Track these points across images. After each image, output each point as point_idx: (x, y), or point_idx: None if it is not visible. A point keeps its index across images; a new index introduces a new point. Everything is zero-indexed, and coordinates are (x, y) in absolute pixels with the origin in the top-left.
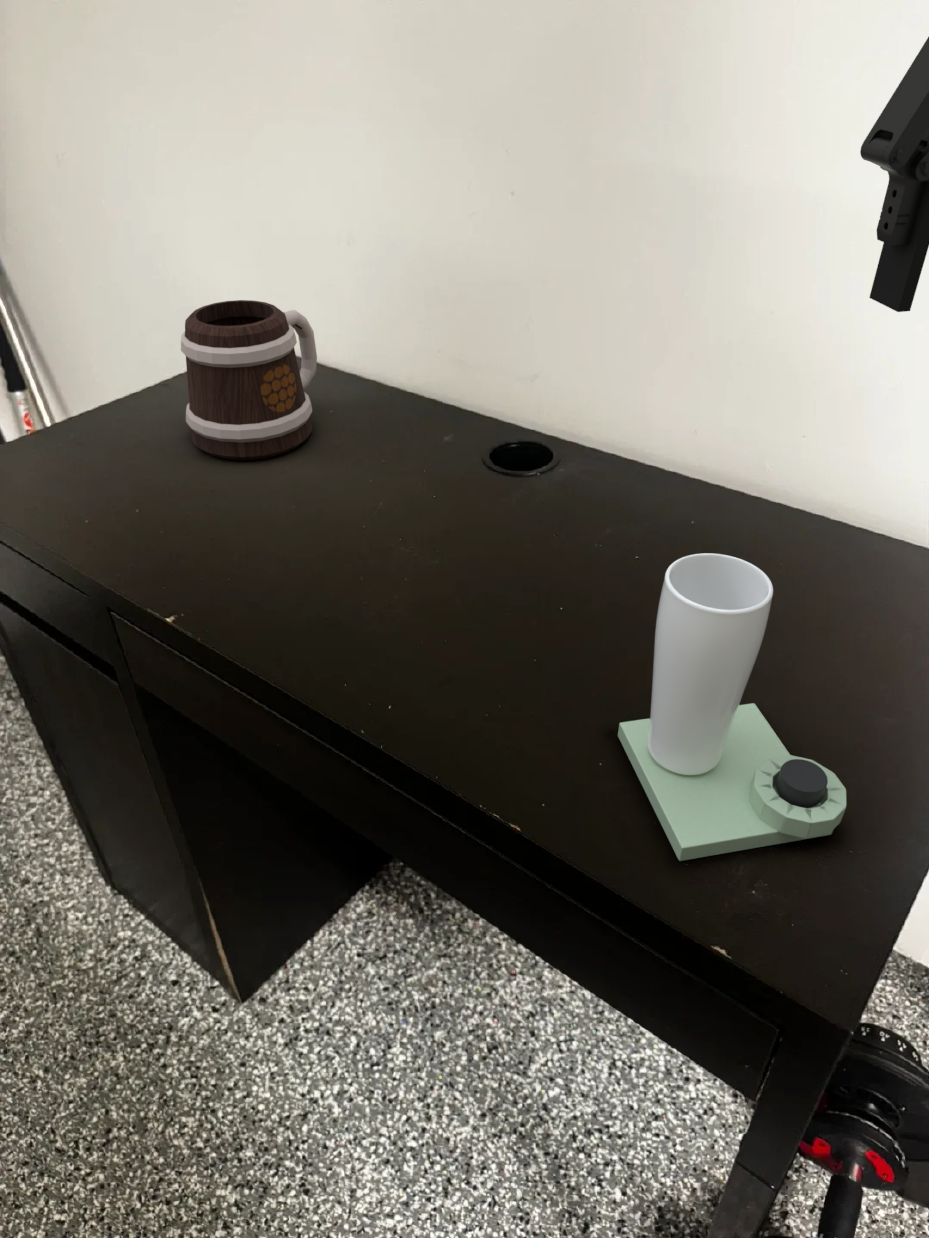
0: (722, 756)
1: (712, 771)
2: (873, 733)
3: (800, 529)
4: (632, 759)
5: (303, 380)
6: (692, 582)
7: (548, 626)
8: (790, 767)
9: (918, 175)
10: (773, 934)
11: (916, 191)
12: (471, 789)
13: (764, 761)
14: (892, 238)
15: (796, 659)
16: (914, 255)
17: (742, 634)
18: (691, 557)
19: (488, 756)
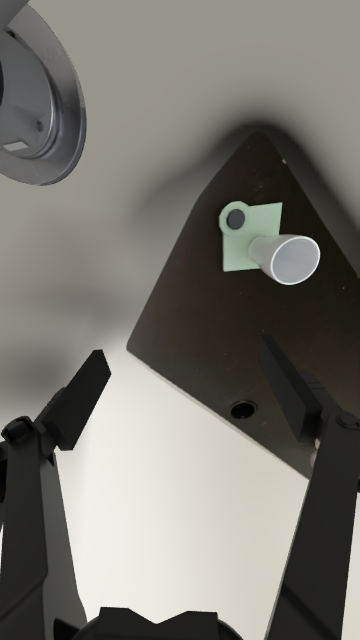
0: (247, 245)
1: (254, 238)
2: (185, 257)
3: (161, 362)
4: None
5: (315, 455)
6: (285, 279)
7: (271, 322)
8: (239, 224)
9: (349, 415)
10: (263, 166)
11: (323, 407)
12: (333, 245)
13: (234, 241)
14: (312, 374)
15: (194, 296)
16: (287, 359)
17: (290, 235)
18: (295, 282)
19: (320, 260)
